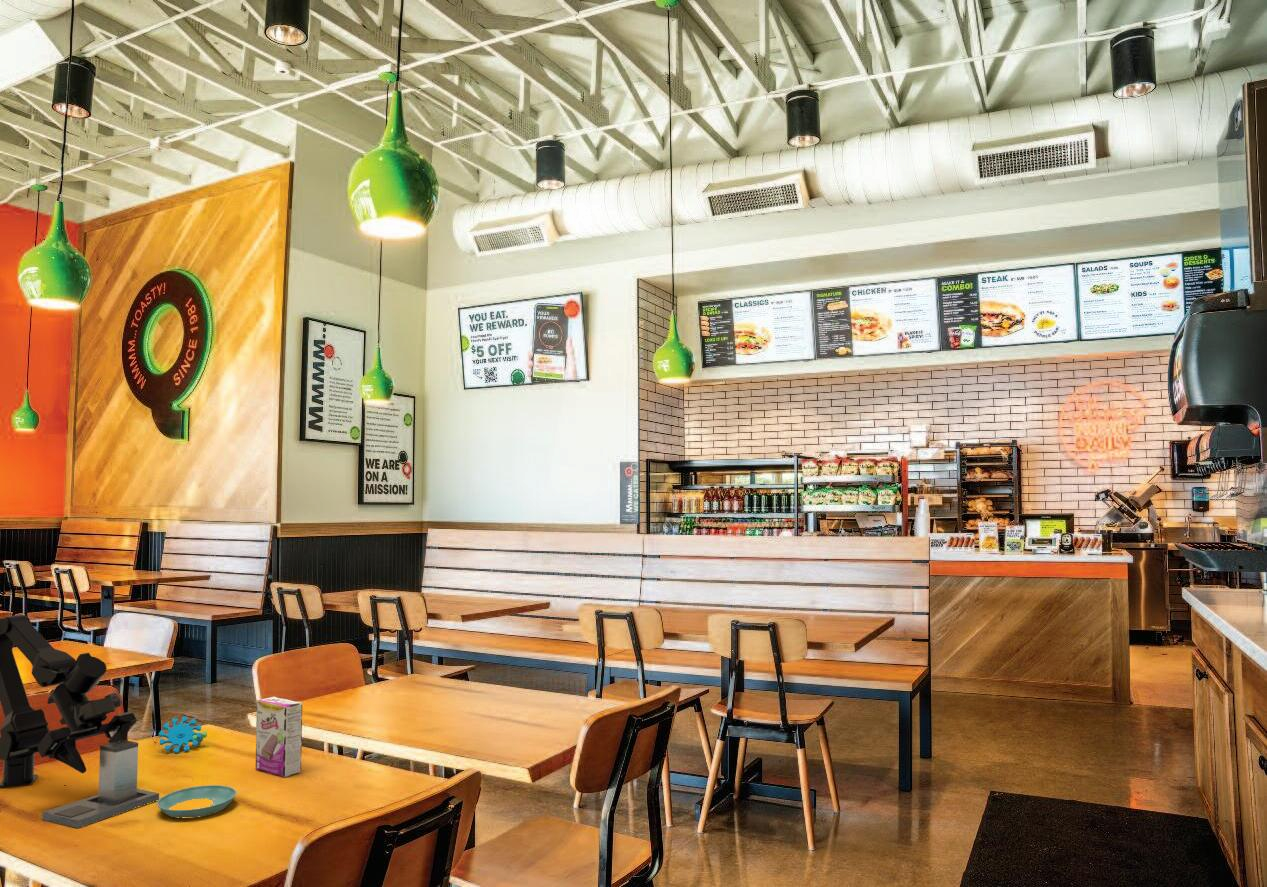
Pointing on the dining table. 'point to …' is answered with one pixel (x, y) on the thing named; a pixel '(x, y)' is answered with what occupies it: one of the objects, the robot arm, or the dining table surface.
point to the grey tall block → (118, 772)
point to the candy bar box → (279, 736)
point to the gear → (181, 735)
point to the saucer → (219, 793)
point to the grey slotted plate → (94, 809)
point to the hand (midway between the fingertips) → (105, 765)
